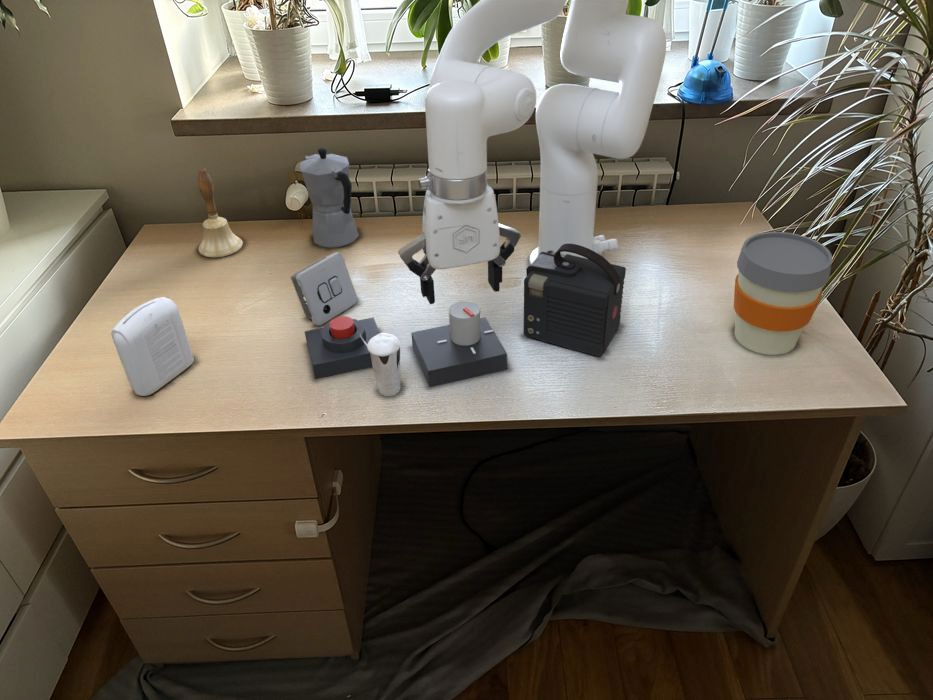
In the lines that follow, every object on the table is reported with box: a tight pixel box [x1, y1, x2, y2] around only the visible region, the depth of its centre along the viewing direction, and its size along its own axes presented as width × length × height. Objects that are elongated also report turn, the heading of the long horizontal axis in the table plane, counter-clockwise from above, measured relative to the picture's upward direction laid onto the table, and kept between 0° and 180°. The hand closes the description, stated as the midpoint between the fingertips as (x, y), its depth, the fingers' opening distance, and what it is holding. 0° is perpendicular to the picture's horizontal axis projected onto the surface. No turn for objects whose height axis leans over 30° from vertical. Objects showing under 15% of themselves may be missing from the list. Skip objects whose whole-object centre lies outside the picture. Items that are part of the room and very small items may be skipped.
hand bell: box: [197, 167, 244, 258], centre depth 139 cm, size 8×8×16 cm
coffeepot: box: [299, 147, 359, 249], centre depth 139 cm, size 15×9×18 cm, turn 37°
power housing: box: [304, 317, 381, 380], centre depth 114 cm, size 11×9×4 cm
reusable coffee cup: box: [733, 231, 833, 356], centre depth 110 cm, size 13×13×15 cm
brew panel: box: [410, 316, 508, 388], centre depth 113 cm, size 12×10×3 cm
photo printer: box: [110, 296, 195, 397], centre depth 109 cm, size 10×4×12 cm, turn 152°
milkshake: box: [360, 332, 402, 397], centre depth 105 cm, size 4×5×10 cm
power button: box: [329, 315, 355, 339], centre depth 112 cm, size 4×4×2 cm
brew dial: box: [448, 300, 481, 346], centre depth 111 cm, size 5×5×5 cm
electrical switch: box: [290, 252, 358, 327], centre depth 123 cm, size 9×5×9 cm, turn 141°
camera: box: [523, 244, 627, 357], centre depth 114 cm, size 11×14×15 cm
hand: (462, 293), depth 107 cm, fingers open, 9 cm apart
